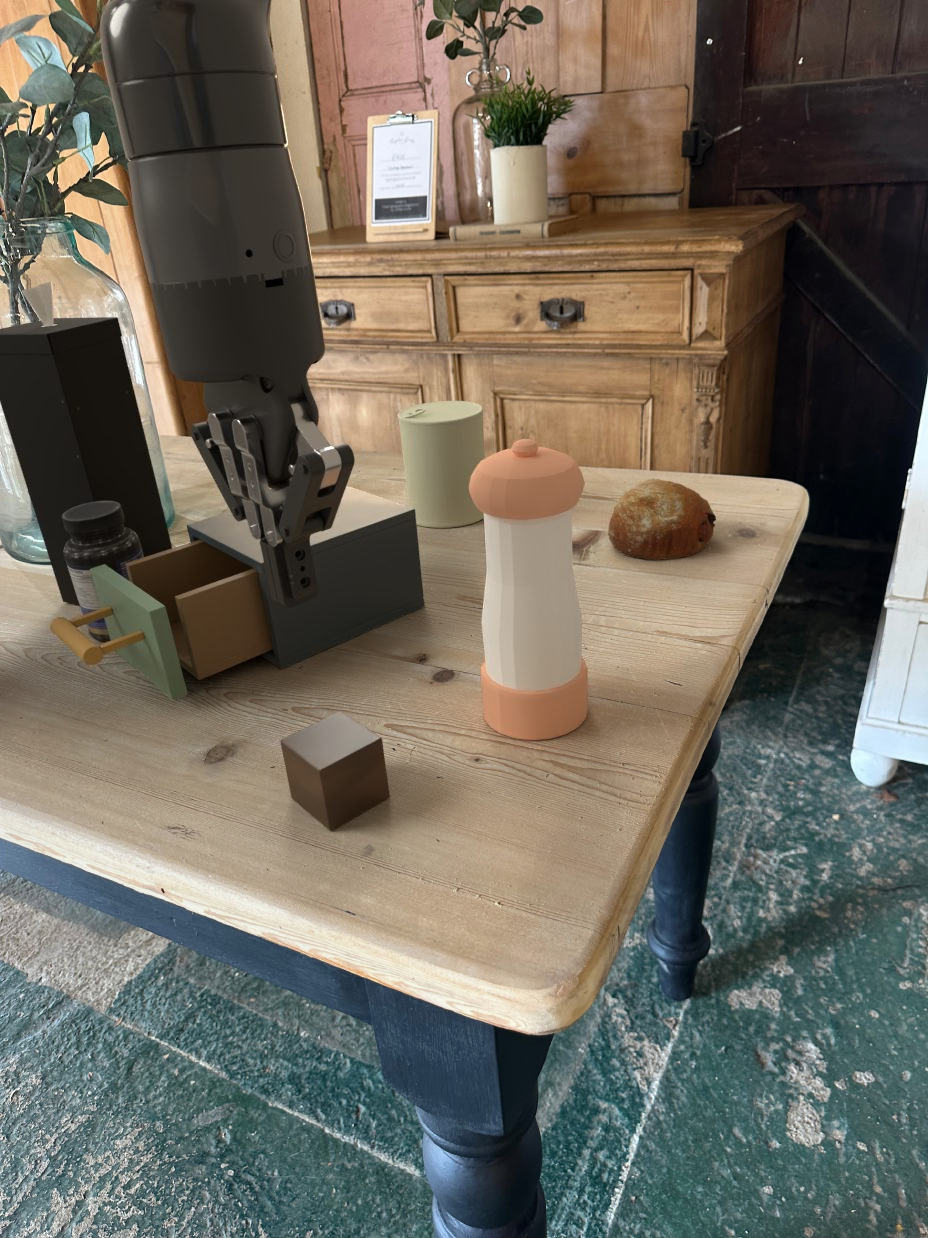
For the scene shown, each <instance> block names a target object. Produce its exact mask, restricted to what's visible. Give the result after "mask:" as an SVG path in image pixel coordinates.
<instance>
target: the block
mask: <svg viewBox="0 0 928 1238" xmlns="http://www.w3.org/2000/svg"><path fill="white" fill-rule="evenodd" d="M279 742H280V747H281V752H282V758H283V762H284V768H285V772H286V776H287V777H286V778H287V782H288V787H289V792H290V797H291V799H292V801H294V802H296V804H297V805H299V806H300V807H301V808H303V809H304V810H305V811H306V812H307V813H308V814H309V815H311V816H312V817H313V818H314V819H315V820H317V821H318V822H319V823H320V824H321V825H323V826H324V827H325V828H326V829H327V830H328V831H330V832H332V831H334V830H335V829H337V828H339V827H340V826H343V825H344V824H346V823H348V822H349V821H351V820H353V819H354V818H356V817H358V816H360V815H361V814H363V813H365V812H366V811H368V810H370V809H372V808H373V807H375V806H377V805H378V804H380V803H382V802H384V801H386V800H387V799H389V798H390V797H391V794H390V787H389V780H388V772H387V766H386V765H387V764H386V757H385V751H384V743H383V738H382V737H381V736H379V735H378V734H377V733H375V732H374V731H372V730H371V729H369V728H367V727H366V726H365V725H363V724H362V723H360V722H359V721H357V720H356V719H354V718H353V717H351V716H349V715H348V714H347V713H345V712H344V711H342V710H338V711H337V712H335V713H332V714H330V715H328V716H326V717H324V718H322V719H320V720H318V721H316V722H314V723H312V724H310V725H308V726H305V727H304V728H302V729H300V730H298V731H296V732H294V733H292V734H290V735H288V736H286V737H284V738H281V739H280V741H279Z"/></svg>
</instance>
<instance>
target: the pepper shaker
mask: <svg viewBox="0 0 928 1238" xmlns="http://www.w3.org/2000/svg"><path fill="white" fill-rule="evenodd" d="M585 484H586V482H585V479H584V476H583V472H582V470H581V468H580V467H579V465H578V464H577V462H576V461H575V459H574V458H573V456H570V455H569V454H566V453H564V452H561V451H558V450H556V449H553V448H549V447H544V446H539V445H538V444H537V442H536V441H535V440H533V439H530V438H521V439H518V440H516V441H514V442H513V444H512V446H511V448H506V449H503V450H500V451H497V452H495V453H493V454H492V455H489V456H487V457H485V459H483V460H482V461H480V463H479V464H478V465H477V467H476V468H475V470H474V472H473V473H472V475H471V478H470V483H469V492H470V495H471V498H472V500H473V502H474V504H475V506H476V507H477V508H478V509H479V510H480V511H481V512H483V513H484V518H483V524H484V540H485V542H484V544H485V545H484V546H485V559H486V560H485V562H486V563H485V564H486V574H485V582H484V583H485V584H484V593H483V602H482V603H483V606H482V614H481V631H482V641H483V649H484V650H483V652H484V661H483V662H482V664H481V667H480V669H479V672H480V687H481V700H482V711H483V712H482V713H483V719H484V720H485V722H486V723H487V725H488V726H489V727H490V728H491V729H493V730H494V731H496V732H498V733H499V734H500V735H504V736H507V737H510V738H513V739H516V740H526V741H541V740H542V741H543V740H551V739H555V738H558V737H562V736H565V735H567V734H569V733H571V732H572V731H575V730H576V729H578V728H579V727H580V726H581V725H582V724H583V722H584V721H585V720H586V719H587V715H588V710H589V694H588V693H589V692H588V691H589V690H588V689H589V688H588V687H589V684H588V683H589V682H588V680H589V679H588V673H589V672H588V667H587V664H586V660H585V659H584V657H582V656H583V654H582V653H583V617H582V611H581V605H580V599H579V594H578V589H577V585H576V584H577V583H576V579H575V571H574V561H573V560H574V559H573V558H574V557H573V517H572V516H573V515H572V513H573V512H572V509H573V508H575V506H577V504H578V502H579V501H580V498H581V496H582V493H583V491H584V487H585Z"/></svg>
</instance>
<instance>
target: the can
mask: <svg viewBox="0 0 928 1238" xmlns="http://www.w3.org/2000/svg"><path fill="white" fill-rule="evenodd" d="M397 419H398V424H399V432H400V441H401V450H402V459H403V469H404V477H405V487H406V499H407V506H408V507H411V508H414V509H415V513H416V524H417V526H419V527H424V528H425V527H426V528H432V529H449V528H459V527H464V526H468V525H472V524H475V523H477V522H479V521H481V520H484V513H483V512H481V511H480V510H479V509H478V508H477V507H476V506H475V504H474V502H473V500H472V498H471V495H470V492H469V483H470V478H471V475H472V473H473V472H474V470H475V468H476V467H477V465H478V464H479V463H480V461H482V460H483V459H485V458H486V451H485V433H484V407H483V406H482V405H481V404H479V403H476V402H473V401H465V400H439V401H432V402H431V401H429V402H424V403H418V404H414V405H411V406H408V407H406V408H403V409H402V410H400V411H399V412H398V413H397Z"/></svg>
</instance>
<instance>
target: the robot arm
mask: <svg viewBox="0 0 928 1238" xmlns="http://www.w3.org/2000/svg"><path fill="white" fill-rule="evenodd" d="M271 9H272V0H111V1H109V2H108V3H107V5H106V6H105V7H104V10H103V12H102V14H101V17H100V23H99V36H100V47H101V54H102V60H103V65H104V69H105V75H106V80H107V83H108V88H109V89H110V92H109V93H110V96H111V100H112V104H113V110H114V114H115V119H116V121H117V126H118V130H119V135H120V139H121V143H122V148H123V152H124V157H125V159H126V160H128V162H127V164H126V165H127V170H128V171H127V172H128V175H129V183H130V190H131V201H132V210H133V217H134V223H135V228H136V233H137V237H138V241H139V245H140V249H141V253H142V259H143V262H144V266H145V270H146V274H147V279H148V283H149V287H150V291H151V295H152V300H153V304H154V308H155V313H156V317H157V322H158V326H159V330H160V333H161V338H162V342H163V346H164V351H165V355H166V359H167V363H168V367H169V369H170V372H171V373H172V374H173V376H175V377H176V378H177V379H179V380H182V381H185V382H190V383H197V384H199V383H201V384H203V403H204V407H205V409H206V412H207V413H208V416H207V419H206V420H205V421H201V422H198V423H194V424H191V425H190V429H189V430H190V431H189V432H190V436H191V439H192V441H193V443H194V446H195V447H196V448H197V451H198V453H199V455H200V456H201V458H202V460H203V462H204V464H205V466H206V468H207V470H208V472H209V473H210V475H211V477H212V479H213V481H214V483H215V485H216V487H217V489H218V490H219V493H220V494H221V496H222V498H223V500H224V502H225V504H226V505H227V507H228V509H229V512H230V511H231V513H232V515H233V517H234V518H235V519H236V520H237V521H242V520H245V519H246V520H247V522H248V526H249V529H250V532H251V534H252V536H253V537H254V538H255V539H256V540H259V539H260V546H261V551H262V556H263V560H264V565H265V570H266V575H267V579H268V584H269V589H270V594H271V597H272V598H273V599H274V600H275V601H277V602H279V603H281V604H283V605H285V606H287V607H290V608H292V607H295V606H297V605H300V604H302V603H305V602H307V601H309V600H312V599H314V598H315V597H316V596H317V594H318V584H317V578H316V573H315V567H314V562H313V556H312V551H311V545H310V536H311V534H314V533H317V532H320V531H325V530H328V529H330V528H331V527H332V525H333V522H334V519H335V517H336V514H337V511H338V508H339V505H340V503H341V500H342V497H343V494H344V491H345V489H346V486H348V483H349V480H350V477H351V475H352V471H353V469H354V466H355V461H356V460H355V455H354V451H353V449H352V447H351V446H350V445H349V444H348V443H346V442H342V443H339V444H335V445H331V444H330V442H329V441H328V440H327V438H326V437H325V435H323V433H322V432H321V430H320V429H319V428H318V426H319V421H320V413H319V407H318V405H317V401H316V400H315V398H314V395H313V392H312V390H311V386H310V384H309V380H308V378H307V377H308V376H307V375H308V372H309V370H310V368H311V366H312V365H315V364H317V363H318V362H320V361H321V360H322V359H323V357H324V356H325V354H326V350H327V349H326V347H327V346H326V342H325V335H324V334H325V333H324V328H323V322H322V316H321V309H320V304H319V297H318V290H317V282H316V277H315V276H316V275H315V271H314V265H313V259H312V258H313V257H312V251H311V244H310V239H309V233H308V227H307V220H306V213H305V209H304V201H303V198H302V195H301V191H300V187H299V184H298V181H297V177H296V174H295V170H294V167H293V166H294V165H293V163H292V158H291V153H290V152H291V151H290V148H288V147H287V146H288V145H289V141H288V135H287V129H286V121H285V115H284V109H283V103H282V97H281V92H280V91H281V89H280V85H279V84H280V83H279V79H278V78H277V77H278V72H277V68H276V64H275V58H274V54H273V49H272V45H271V40H270V39H271V37H270V35H271V34H270V33H271V32H270V31H271V29H270V28H271V11H272V10H271Z"/></svg>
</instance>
